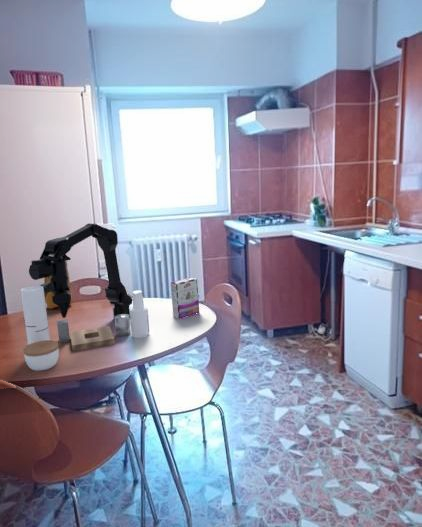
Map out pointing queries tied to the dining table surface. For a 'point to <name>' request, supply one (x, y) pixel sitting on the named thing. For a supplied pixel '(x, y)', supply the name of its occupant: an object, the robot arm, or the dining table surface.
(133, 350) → the dining table surface
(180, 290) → the candy bar box
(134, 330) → the spray bottle
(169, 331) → the dining table surface
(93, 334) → the bore block
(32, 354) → the lidded jar
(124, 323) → the clear glass jar
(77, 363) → the dining table surface
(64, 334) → the square bit
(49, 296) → the coffee package
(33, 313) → the cylindrical container
